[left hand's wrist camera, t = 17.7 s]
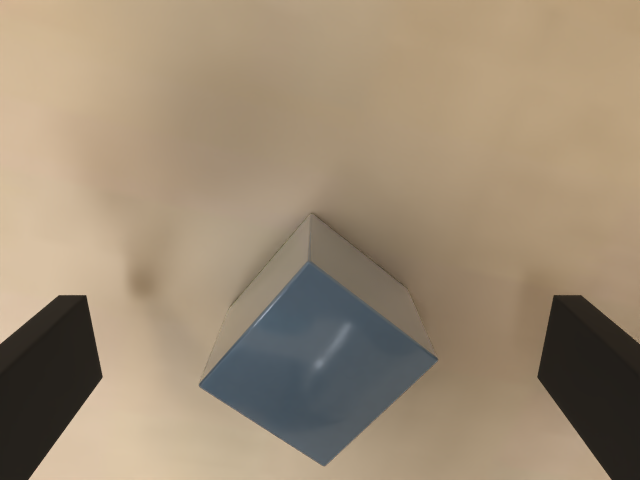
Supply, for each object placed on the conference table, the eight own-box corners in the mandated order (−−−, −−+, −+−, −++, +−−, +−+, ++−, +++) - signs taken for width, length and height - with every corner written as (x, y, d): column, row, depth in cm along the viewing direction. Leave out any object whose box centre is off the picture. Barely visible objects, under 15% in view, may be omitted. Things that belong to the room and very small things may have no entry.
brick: (408, 288, 16) (440, 360, 12) (322, 376, 17) (324, 468, 13) (311, 211, 15) (308, 260, 11) (227, 309, 16) (196, 386, 12)
